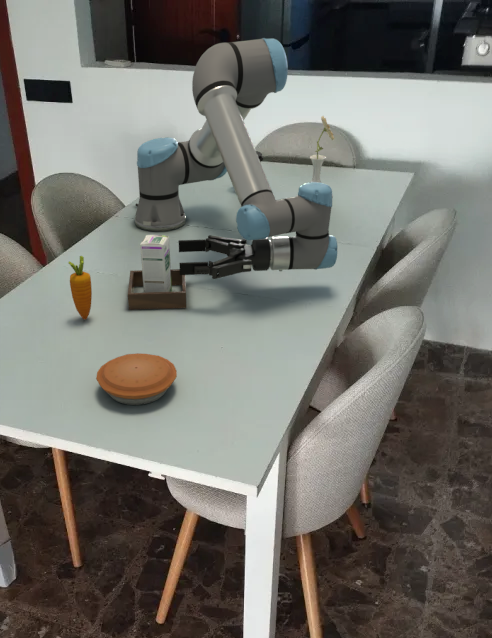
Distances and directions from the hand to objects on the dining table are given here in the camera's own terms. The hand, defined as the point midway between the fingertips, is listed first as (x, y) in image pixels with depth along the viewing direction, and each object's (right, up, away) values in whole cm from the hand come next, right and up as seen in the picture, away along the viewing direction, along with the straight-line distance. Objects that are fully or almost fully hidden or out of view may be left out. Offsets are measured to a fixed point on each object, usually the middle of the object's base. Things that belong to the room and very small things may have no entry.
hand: (178, 257), depth 165 cm
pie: (-8, -33, -28) cm, 44 cm away
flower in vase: (+44, +32, +59) cm, 80 cm away
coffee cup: (+23, +38, +69) cm, 82 cm away
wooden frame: (-5, -8, +6) cm, 11 cm away
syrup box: (-5, -8, +6) cm, 11 cm away
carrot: (-22, -15, -3) cm, 27 cm away
